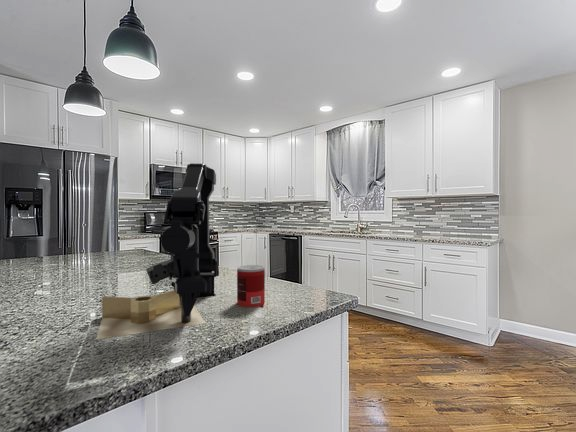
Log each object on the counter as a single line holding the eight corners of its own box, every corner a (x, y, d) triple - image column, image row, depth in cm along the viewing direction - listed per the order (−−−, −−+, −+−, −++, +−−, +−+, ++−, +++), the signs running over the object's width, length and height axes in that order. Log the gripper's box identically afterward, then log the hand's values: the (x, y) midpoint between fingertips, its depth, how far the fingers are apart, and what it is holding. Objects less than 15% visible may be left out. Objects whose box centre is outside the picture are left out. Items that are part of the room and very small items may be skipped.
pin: (190, 319, 76) (190, 286, 76) (191, 322, 74) (191, 288, 74) (180, 320, 75) (180, 287, 75) (181, 323, 73) (181, 289, 73)
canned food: (268, 303, 93) (268, 265, 93) (257, 311, 85) (257, 270, 85) (245, 300, 95) (245, 264, 95) (232, 308, 88) (232, 268, 88)
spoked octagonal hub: (179, 307, 86) (179, 288, 86) (184, 317, 78) (184, 297, 78) (102, 316, 78) (102, 296, 78) (99, 329, 70) (98, 306, 70)
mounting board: (193, 307, 88) (193, 304, 88) (205, 326, 74) (205, 322, 74) (102, 319, 78) (102, 316, 78) (96, 343, 64) (95, 339, 64)
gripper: (146, 246, 79) (147, 308, 79) (150, 255, 63) (151, 334, 63) (192, 244, 84) (192, 302, 84) (207, 252, 67) (207, 325, 68)
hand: (186, 314), depth 75 cm, fingers closed on pin, 2 cm apart
